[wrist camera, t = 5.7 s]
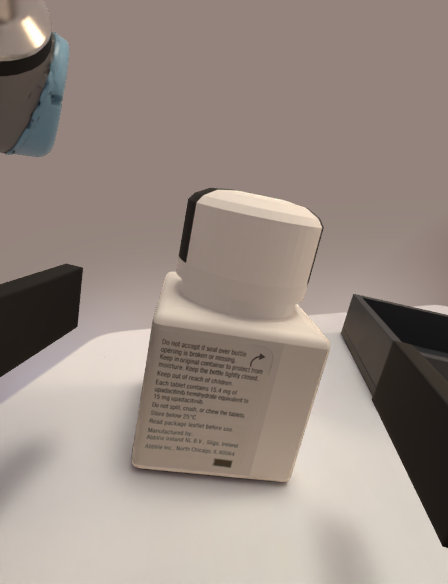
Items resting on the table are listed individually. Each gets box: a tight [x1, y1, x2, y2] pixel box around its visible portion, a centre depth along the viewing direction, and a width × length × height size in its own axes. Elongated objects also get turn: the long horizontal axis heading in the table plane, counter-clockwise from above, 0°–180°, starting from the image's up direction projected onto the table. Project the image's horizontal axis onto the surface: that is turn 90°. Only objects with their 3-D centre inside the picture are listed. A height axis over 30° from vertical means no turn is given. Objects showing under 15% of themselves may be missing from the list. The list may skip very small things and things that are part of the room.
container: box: [132, 188, 330, 482], centre depth 19 cm, size 8×8×13 cm
